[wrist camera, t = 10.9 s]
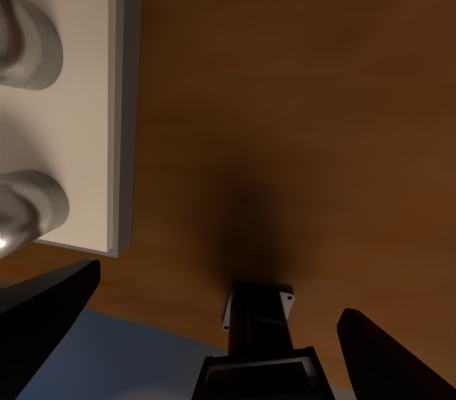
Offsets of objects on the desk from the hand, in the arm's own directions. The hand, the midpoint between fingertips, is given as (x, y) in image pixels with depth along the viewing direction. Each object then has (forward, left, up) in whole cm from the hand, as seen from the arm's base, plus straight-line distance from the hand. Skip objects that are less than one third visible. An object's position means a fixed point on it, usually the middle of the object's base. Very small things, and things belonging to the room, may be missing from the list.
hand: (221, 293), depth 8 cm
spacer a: (-3, +15, -9) cm, 18 cm away
